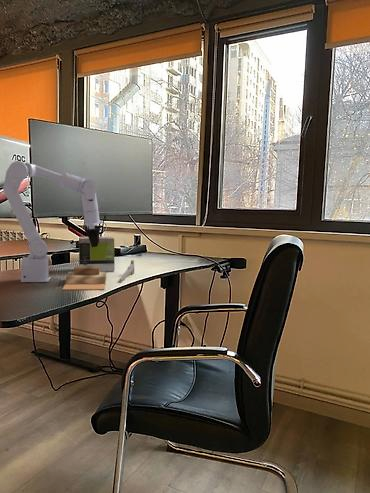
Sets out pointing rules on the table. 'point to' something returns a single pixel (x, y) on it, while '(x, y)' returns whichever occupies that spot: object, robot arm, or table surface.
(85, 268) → the walnut tile
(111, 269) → the tea box
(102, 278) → the birch deck
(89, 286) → the terracotta mat
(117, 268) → the table surface
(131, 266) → the caliper
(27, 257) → the robot arm
